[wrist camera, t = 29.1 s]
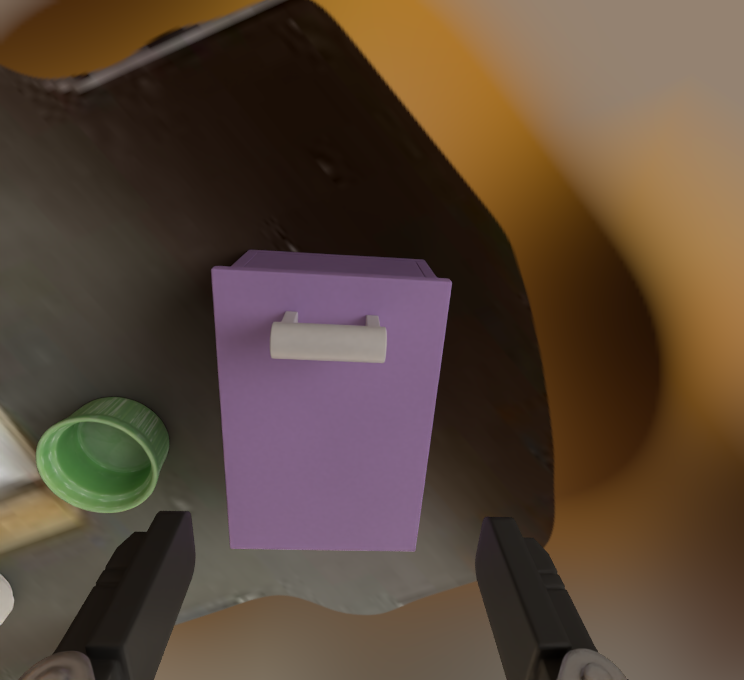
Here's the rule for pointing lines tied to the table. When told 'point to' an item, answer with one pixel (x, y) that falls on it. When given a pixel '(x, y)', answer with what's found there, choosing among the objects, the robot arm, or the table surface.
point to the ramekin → (104, 455)
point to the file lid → (326, 404)
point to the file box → (334, 263)
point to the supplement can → (5, 599)
